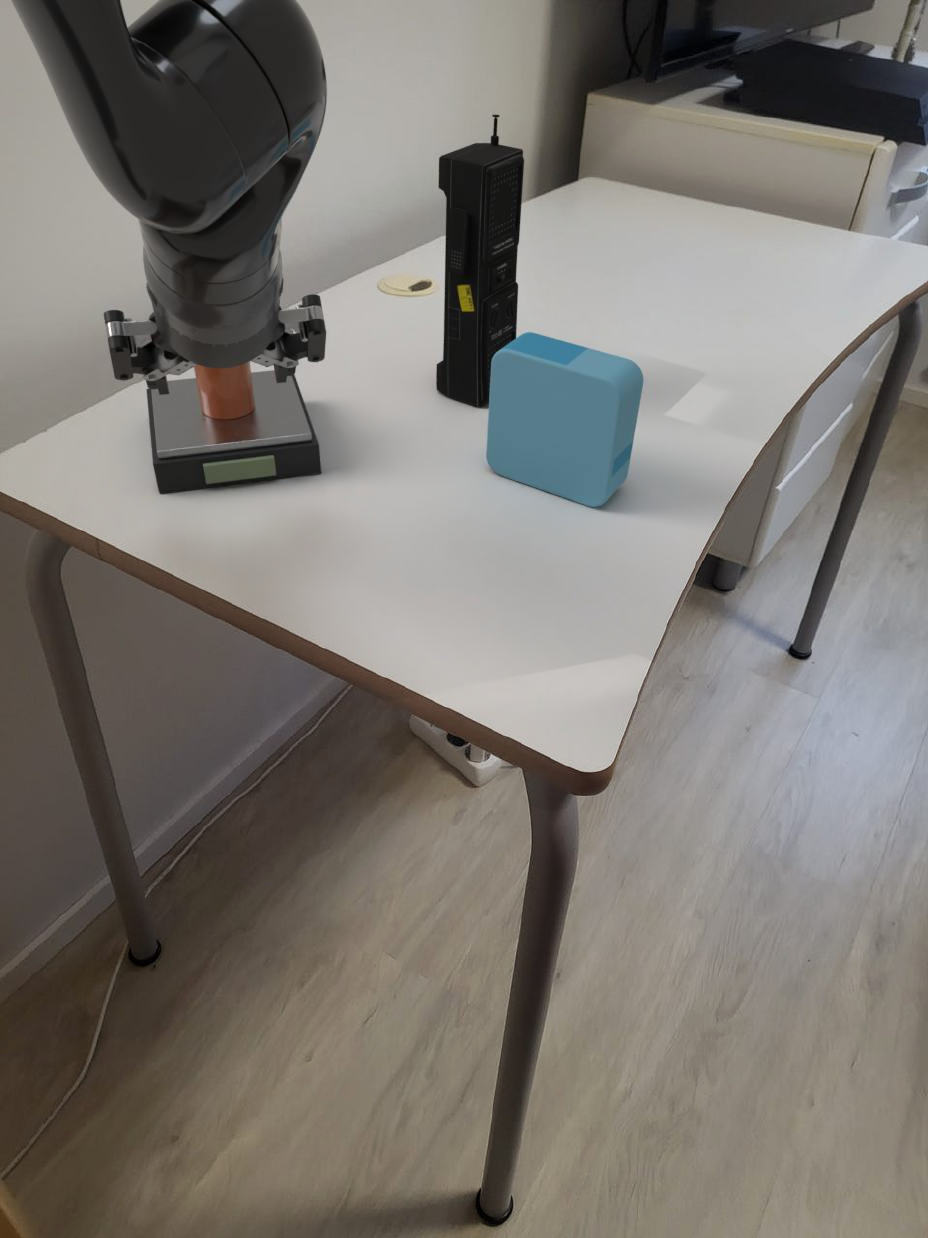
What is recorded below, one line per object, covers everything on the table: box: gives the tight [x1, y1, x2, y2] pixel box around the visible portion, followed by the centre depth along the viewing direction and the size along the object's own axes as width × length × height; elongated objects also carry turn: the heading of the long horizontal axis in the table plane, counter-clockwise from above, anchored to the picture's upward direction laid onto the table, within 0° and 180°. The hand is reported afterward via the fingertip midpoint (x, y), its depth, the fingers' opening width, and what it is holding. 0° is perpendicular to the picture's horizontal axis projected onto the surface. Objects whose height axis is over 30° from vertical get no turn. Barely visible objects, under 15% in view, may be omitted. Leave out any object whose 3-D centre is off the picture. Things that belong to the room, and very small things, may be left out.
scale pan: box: [151, 369, 312, 459], centre depth 85 cm, size 13×13×1 cm
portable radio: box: [435, 114, 525, 408], centre depth 88 cm, size 8×6×25 cm
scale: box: [146, 374, 322, 495], centre depth 86 cm, size 14×14×3 cm
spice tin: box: [193, 361, 255, 419], centre depth 82 cm, size 5×5×8 cm
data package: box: [485, 331, 644, 508], centre depth 80 cm, size 12×4×12 cm, turn 59°
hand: (221, 375), depth 70 cm, fingers open, 8 cm apart
